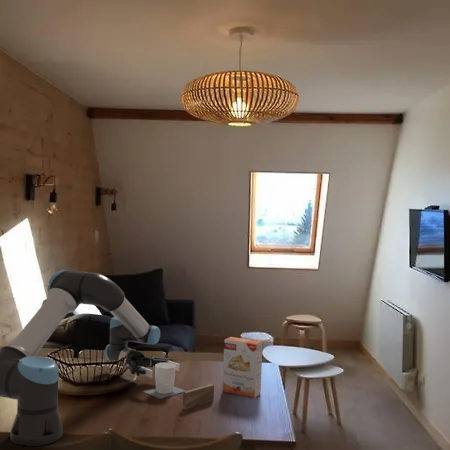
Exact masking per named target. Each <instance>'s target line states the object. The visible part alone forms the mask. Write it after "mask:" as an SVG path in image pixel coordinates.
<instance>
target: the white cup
mask: <svg viewBox="0 0 450 450" xmlns="http://www.w3.org/2000/svg"><path fill="white" fill-rule="evenodd" d="M175 369H176V365H175V364H173V363H158V364H156V365H155V366H154V376H155V377H154V378H155V380H154V381H155V388H156V392H158V393H161V394H168V393H172V392H173V391H174V387H175V379H176V370H175Z"/></svg>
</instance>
